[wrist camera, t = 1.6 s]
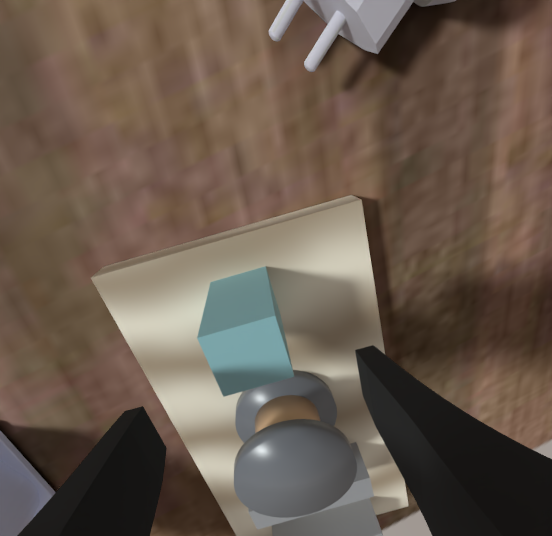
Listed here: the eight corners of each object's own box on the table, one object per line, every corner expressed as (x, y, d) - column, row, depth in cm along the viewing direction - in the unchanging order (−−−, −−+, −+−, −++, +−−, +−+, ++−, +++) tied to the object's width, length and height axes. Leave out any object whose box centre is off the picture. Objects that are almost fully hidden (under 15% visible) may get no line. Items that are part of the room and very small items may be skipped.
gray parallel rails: (247, 472, 21) (248, 512, 19) (356, 441, 21) (369, 477, 19) (278, 537, 25) (281, 577, 22) (372, 510, 25) (385, 548, 22)
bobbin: (221, 386, 18) (215, 455, 14) (322, 357, 18) (345, 417, 14) (252, 455, 21) (254, 529, 17) (341, 429, 21) (365, 498, 17)
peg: (210, 281, 16) (197, 337, 11) (265, 266, 16) (275, 315, 11) (228, 328, 17) (223, 396, 12) (280, 313, 17) (294, 376, 12)
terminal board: (103, 266, 16) (90, 277, 15) (351, 195, 16) (361, 199, 15) (245, 530, 26) (245, 552, 25) (399, 487, 26) (408, 506, 25)
